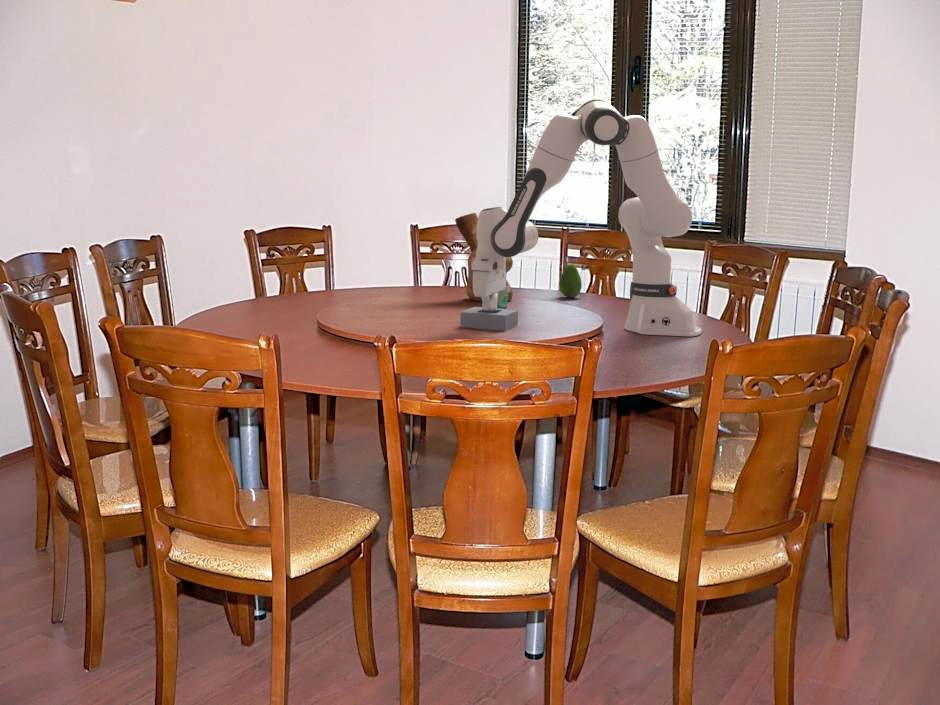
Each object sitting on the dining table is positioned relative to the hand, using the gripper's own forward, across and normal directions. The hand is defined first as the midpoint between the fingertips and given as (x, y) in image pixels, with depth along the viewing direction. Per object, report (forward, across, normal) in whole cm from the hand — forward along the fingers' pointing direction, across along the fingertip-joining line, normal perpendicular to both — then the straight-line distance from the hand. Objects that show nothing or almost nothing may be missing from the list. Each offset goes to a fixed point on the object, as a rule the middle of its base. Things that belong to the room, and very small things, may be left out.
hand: (489, 308), depth 320 cm
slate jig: (+5, 0, 0) cm, 5 cm away
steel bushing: (+4, 0, 0) cm, 4 cm away
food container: (+6, -19, -3) cm, 20 cm away
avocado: (+6, -71, +6) cm, 71 cm away
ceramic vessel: (+6, -51, -20) cm, 55 cm away
